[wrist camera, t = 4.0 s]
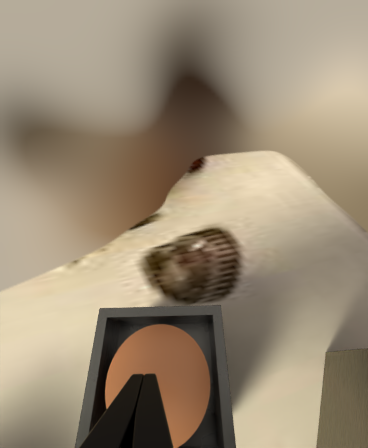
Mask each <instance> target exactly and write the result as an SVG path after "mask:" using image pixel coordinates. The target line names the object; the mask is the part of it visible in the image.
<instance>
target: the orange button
mask: <svg viewBox="0 0 368 448" xmlns="http://www.w3.org/2000/svg"><path fill="white" fill-rule="evenodd" d="M148 373H155V374H156V376H157V380H158V384H159V388H160V393H161V397H162V401H163V405H164V409H165V414H166V418H167V422H168V426H169V430H170V434H171V439H172V443H173V447H174V448H178V447H179V446H181V445H182V444H184V443H185V442H186V441H187V440H188V439H189V438H190V437H191V436H192V435H193V434H194V432H195V431H196V430H197V428H198V427H199V425H200V423H201V422H202V419H203V417H204V415H205V412H206V409H207V406H208V401H209V396H210V375H209V369H208V365H207V362H206V359H205V356H204V354H203V352H202V350H201V348H200V347H199V345H198V344H197V343H196V341H195V340H194V339H193V338H192V337H191V336H190V335H189V334H187V333H186V332H185V331H183V330H181V329H179V328H177V327H174V326H171V325H166V324H157V325H151V326H147V327H145V328H142V329H140V330H138V331H136V332H135V333H134V334H132V335H131V336H130V337H129V338H128V339H126V340H125V342H124V343H123V344H122V345H121V346H120V348H119V349H118V351H117V352H116V354H115V356H114V358H113V360H112V362H111V364H110V367H109V370H108V374H107V379H106V386H105V401H106V408H108V407H109V406H110V404H111V403H112V401H113V400H114V399H115V397H116V396H117V394H118V393H119V392H120V390H121V389H122V388H123V386H124V385H125V383H126V382H127V381H128V379H129V378H130V377H131V375H133V374H144V375H145V374H148Z"/></svg>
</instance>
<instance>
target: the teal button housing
mask: <svg viewBox="0 0 368 448" xmlns="http://www.w3.org/2000/svg"><path fill="white" fill-rule="evenodd" d="M317 448H368V348H367V349H356V350H345V351H335V352H326V358H325V368H324V378H323V388H322V398H321V408H320V419H319V429H318V439H317Z"/></svg>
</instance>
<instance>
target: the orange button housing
mask: <svg viewBox="0 0 368 448" xmlns="http://www.w3.org/2000/svg"><path fill="white" fill-rule="evenodd" d="M157 324H166V325H171V326H174V327H177V328H179V329H181V330H183V331H185V332H186V333H187V334H189V335H190V336H191V337H192V338H193V339H194V340H195V341H196V343H197V344H198V345H199V347H200V348H201V350H202V352H203V354H204V356H205V359H206V362H207V365H208V369H209V375H210V396H209V401H208V406H207V409H206V412H205V415H204V417H203V419H202V422H201V423H200V425H199V427H198V428H197V430H196V431H195V432H194V434H193V435H192V436H191V437H190V438H189V439H188V440H187V441H186V442H185V443H184V444H182V445H181V446H179V447H178V448H236V443H235V434H234V425H233V415H232V406H231V397H230V387H229V378H228V369H227V360H226V350H225V341H224V332H223V322H222V313H221V305H214V306H174V307H133V308H100V309H99V315H98V321H97V326H96V332H95V338H94V343H93V349H92V354H91V360H90V366H89V371H88V377H87V383H86V388H85V394H84V399H83V405H82V411H81V416H80V422H79V428H78V433H77V439H76V444H75V448H79V447H80V446H81V444H82V443H83V441H84V440H85V439H86V437H87V436H88V435H89V433H90V432H91V430H92V429H93V428H94V426H95V425H96V423H97V422H98V421H99V419H100V418H101V417H102V415H103V414H104V412H105V411H106V410H107V408H106V401H105V386H106V379H107V374H108V370H109V367H110V364H111V362H112V360H113V358H114V356H115V354H116V352H117V351H118V349H119V348H120V346H121V345H122V344H123V343H124V342H125V340H126V339H128V338H129V337H130V336H131V335H132V334H134V333H135V332H136V331H138V330H140V329H142V328H145V327H147V326H151V325H157Z"/></svg>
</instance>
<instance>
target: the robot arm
mask: <svg viewBox="0 0 368 448" xmlns="http://www.w3.org/2000/svg"><path fill="white" fill-rule="evenodd" d="M79 448H174V447H173V443H172V439H171V434H170V430H169V426H168V422H167V418H166V414H165V409H164V405H163V401H162V397H161V393H160V388H159V384H158V380H157V376H156V374H155V373H148V374H145V375H144V374H133V375H131V377H130V378H129V379H128V381H127V382H126V383H125V385H124V386H123V388H122V389H121V390H120V392H119V393H118V394H117V396H116V397H115V399H114V400H113V401H112V403H111V404H110V406H109V407H108V408H107V410H106V411H105V412H104V414H103V415H102V417H101V418H100V419H99V421H98V422H97V423H96V425H95V426H94V428H93V429H92V430H91V432H90V433H89V435H88V436H87V437H86V439H85V440H84V441H83V443H82V444H81V446H80V447H79Z"/></svg>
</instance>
